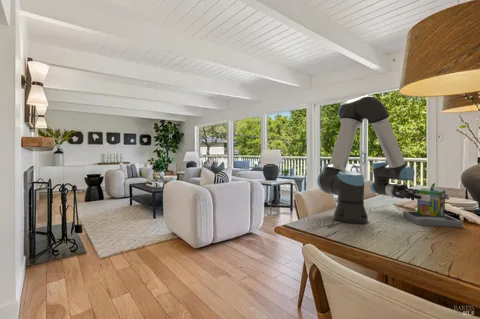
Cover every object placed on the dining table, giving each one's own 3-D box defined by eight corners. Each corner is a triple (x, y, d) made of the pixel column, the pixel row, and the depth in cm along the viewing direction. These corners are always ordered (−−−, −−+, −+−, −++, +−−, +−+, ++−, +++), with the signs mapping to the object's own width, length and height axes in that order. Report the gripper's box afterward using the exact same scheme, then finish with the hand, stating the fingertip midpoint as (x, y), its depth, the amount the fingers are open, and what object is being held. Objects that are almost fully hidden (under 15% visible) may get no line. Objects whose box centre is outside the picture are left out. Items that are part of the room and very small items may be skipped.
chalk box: (422, 210, 124) (422, 181, 124) (445, 214, 117) (445, 183, 116) (416, 214, 118) (416, 183, 118) (440, 217, 111) (440, 185, 111)
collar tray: (417, 225, 111) (417, 219, 111) (402, 215, 128) (402, 210, 128) (462, 227, 107) (462, 221, 107) (441, 217, 124) (441, 212, 124)
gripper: (414, 196, 138) (457, 203, 117) (379, 199, 131) (419, 207, 110) (414, 182, 138) (458, 188, 117) (379, 185, 131) (419, 191, 110)
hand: (439, 197), depth 114 cm, fingers closed on chalk box, 11 cm apart
